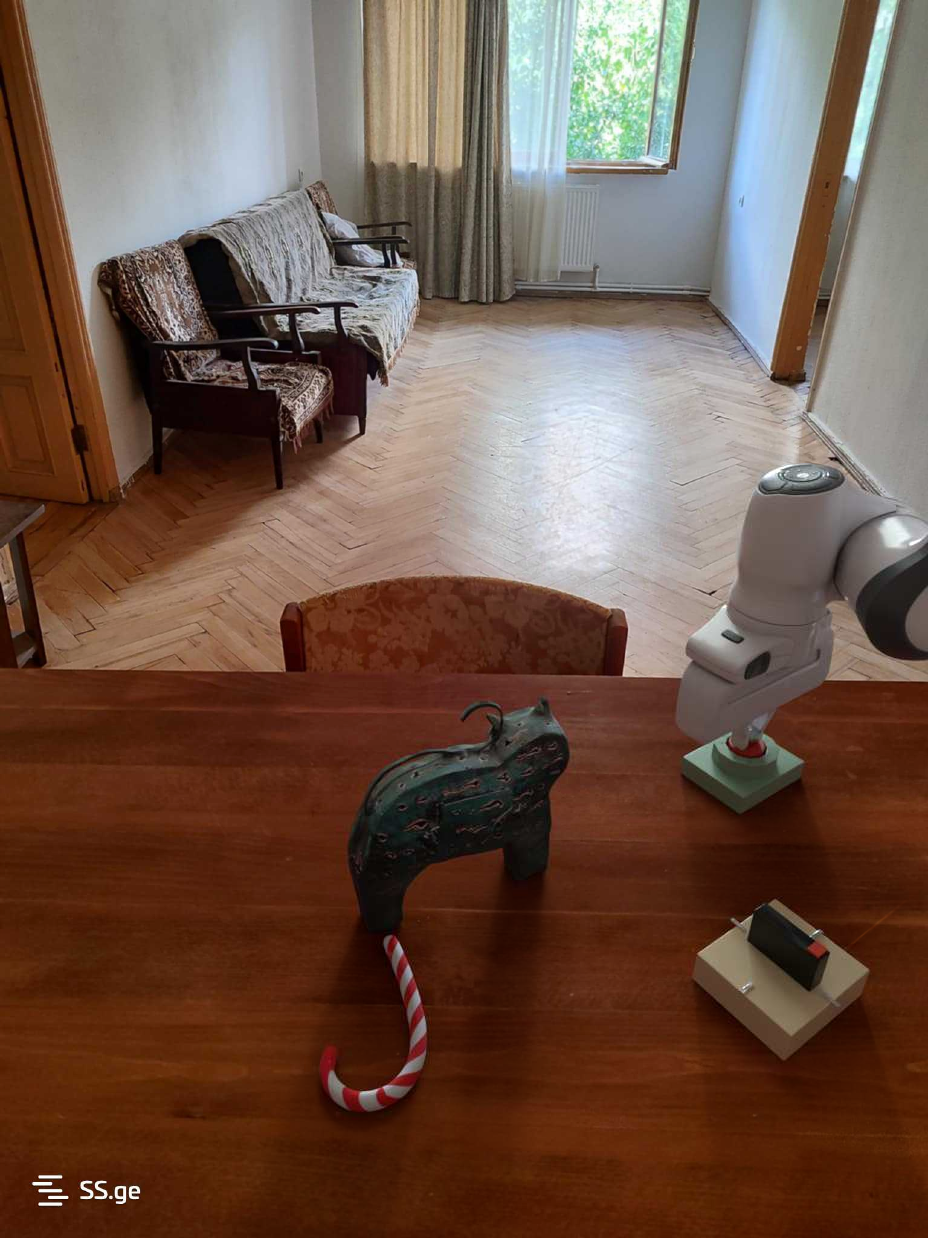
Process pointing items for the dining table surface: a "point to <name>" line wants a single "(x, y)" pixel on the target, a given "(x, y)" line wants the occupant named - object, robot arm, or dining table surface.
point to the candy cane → (415, 1061)
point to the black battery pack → (788, 946)
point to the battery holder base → (777, 986)
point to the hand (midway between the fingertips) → (745, 742)
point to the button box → (741, 772)
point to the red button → (748, 750)
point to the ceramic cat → (458, 809)
